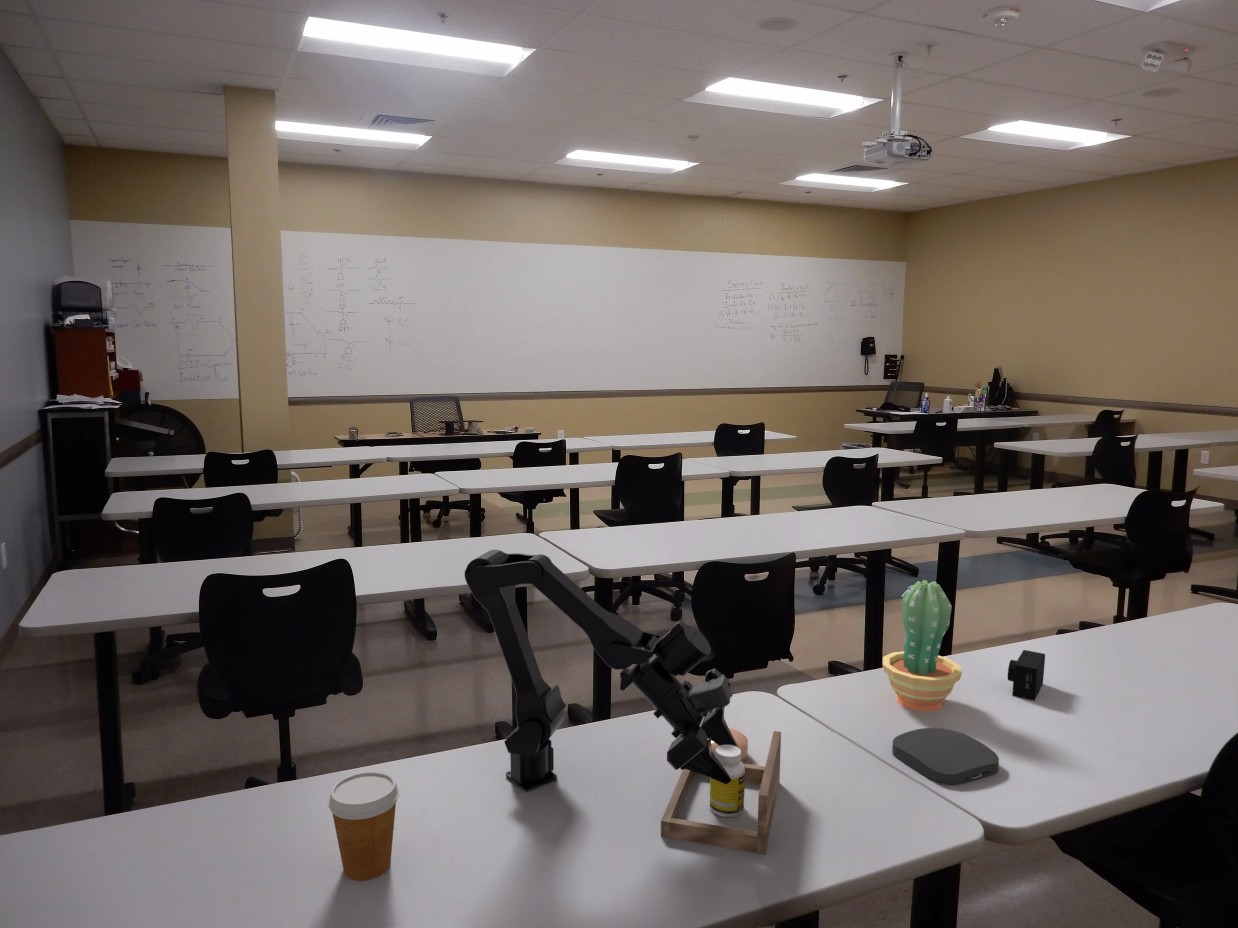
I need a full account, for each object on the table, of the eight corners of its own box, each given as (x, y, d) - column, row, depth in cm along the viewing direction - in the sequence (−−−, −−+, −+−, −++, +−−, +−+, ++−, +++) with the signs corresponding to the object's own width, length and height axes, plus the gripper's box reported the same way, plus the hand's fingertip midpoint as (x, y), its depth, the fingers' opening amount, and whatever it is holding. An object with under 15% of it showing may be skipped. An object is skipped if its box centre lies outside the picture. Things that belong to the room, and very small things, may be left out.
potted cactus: (966, 697, 173) (974, 579, 169) (951, 725, 160) (959, 599, 156) (890, 680, 181) (896, 568, 177) (870, 706, 168) (876, 586, 165)
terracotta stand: (719, 775, 142) (719, 759, 141) (679, 753, 149) (679, 737, 149) (759, 757, 148) (759, 741, 147) (718, 736, 156) (719, 721, 155)
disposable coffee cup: (340, 848, 121) (336, 770, 120) (407, 844, 122) (404, 768, 120) (323, 890, 112) (318, 807, 110) (395, 887, 113) (392, 804, 111)
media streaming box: (882, 751, 151) (883, 735, 150) (944, 736, 157) (945, 721, 156) (943, 791, 138) (944, 773, 137) (1008, 772, 143) (1009, 756, 143)
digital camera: (1015, 678, 183) (1017, 647, 182) (1043, 684, 180) (1045, 653, 179) (1005, 694, 174) (1008, 662, 173) (1034, 701, 171) (1037, 668, 170)
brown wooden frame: (660, 836, 124) (661, 779, 123) (688, 769, 144) (689, 719, 142) (765, 854, 120) (767, 795, 119) (779, 782, 140) (781, 731, 138)
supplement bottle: (743, 820, 129) (744, 760, 127) (707, 816, 130) (708, 756, 128) (745, 801, 134) (746, 743, 132) (711, 797, 135) (712, 740, 134)
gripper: (688, 684, 121) (764, 767, 119) (711, 640, 138) (777, 711, 137) (636, 729, 124) (709, 809, 123) (665, 680, 142) (729, 750, 140)
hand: (733, 767), depth 131 cm, fingers open, 9 cm apart
